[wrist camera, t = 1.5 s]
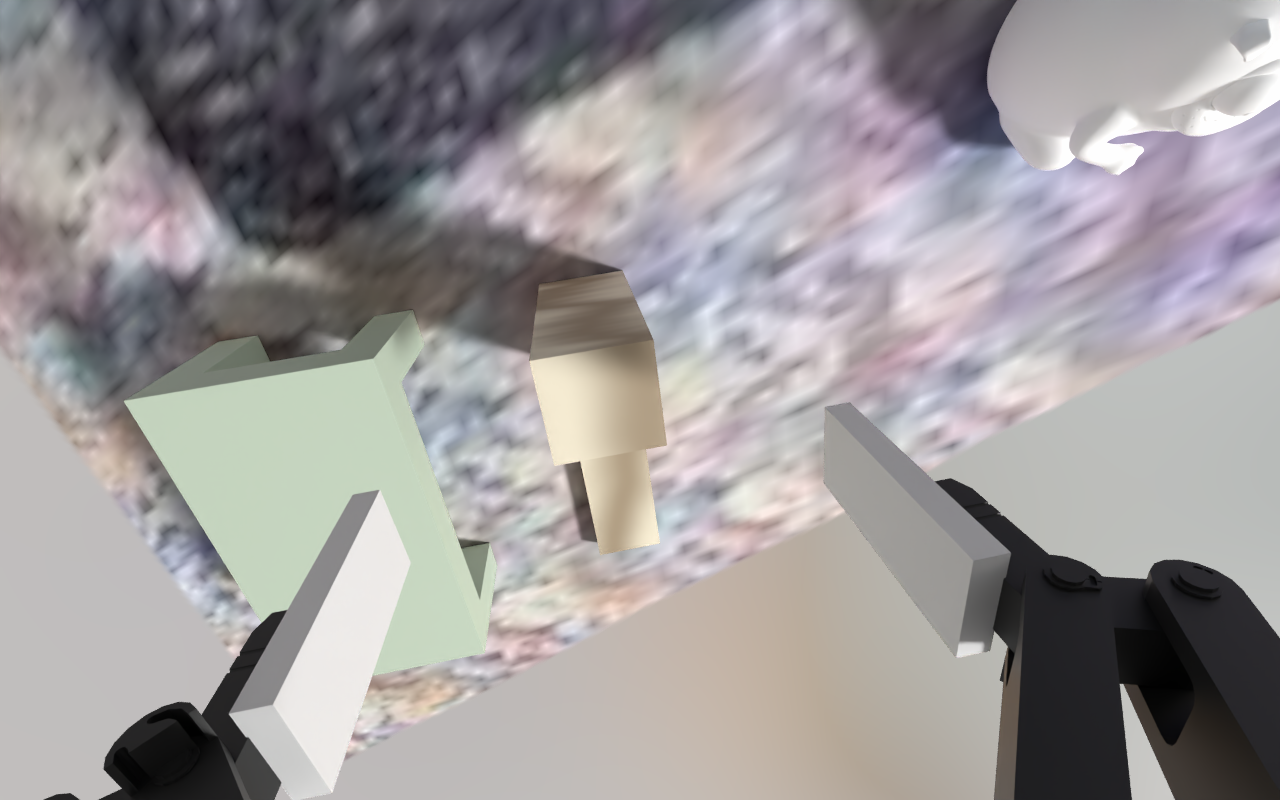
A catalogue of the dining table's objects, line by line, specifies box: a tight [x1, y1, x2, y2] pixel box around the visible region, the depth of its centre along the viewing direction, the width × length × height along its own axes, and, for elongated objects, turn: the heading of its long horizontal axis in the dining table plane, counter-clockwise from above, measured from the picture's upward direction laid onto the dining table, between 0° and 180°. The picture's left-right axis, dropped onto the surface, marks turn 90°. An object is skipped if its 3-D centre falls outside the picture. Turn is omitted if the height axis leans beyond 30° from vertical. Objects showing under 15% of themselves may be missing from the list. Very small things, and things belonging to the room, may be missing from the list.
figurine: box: [987, 0, 1280, 175], centre depth 22 cm, size 10×10×12 cm
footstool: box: [124, 310, 497, 676], centre depth 30 cm, size 18×10×7 cm, turn 8°
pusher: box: [529, 271, 667, 555], centre depth 29 cm, size 4×18×11 cm, turn 7°
